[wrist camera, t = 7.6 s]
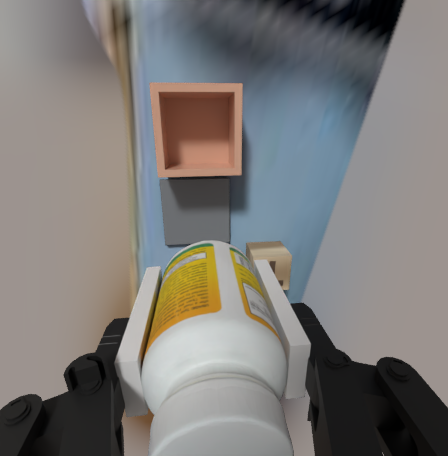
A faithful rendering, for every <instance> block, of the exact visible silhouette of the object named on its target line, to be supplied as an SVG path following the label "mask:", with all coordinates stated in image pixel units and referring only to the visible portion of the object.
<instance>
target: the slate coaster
mask: <svg viewBox="0 0 448 456" xmlns="http://www.w3.org/2000/svg"><path fill="white" fill-rule="evenodd" d="M160 190H161V201H162V212H163V223H164V234H165V245H177V244H194V243H197V242H201V241H209V240H214V241H221V242H230V235H229V178H199V179H161V180H160Z"/></svg>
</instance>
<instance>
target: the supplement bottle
mask: <svg viewBox="0 0 448 456" xmlns="http://www.w3.org/2000/svg"><path fill="white" fill-rule="evenodd" d="M287 377H288V365H287V359H286V355H285V351H284V348H283V346H282V343H281V340H280V337H279V334H278V332H277V329H276V327H275V324H274V321H273V319H272V316H271V313H270V311H269V308H268V306H267V303H266V301H265V298H264V295H263V293H262V290H261V287H260V284H259V282H258V279H257V277H256V274H255V271H254V269H253V267H252V265H251V263H250V261H249V259H248V258H247V257H246V255H245V254H244V253H243V252H242V251H240V250H239V249H238V248H236V247H234V246H233V245H230V244H228V243H225V242H221V241H214V240H209V241H201V242H197V243H194V244H191V245H189V246H187V247H185V248H183V249H182V250H180V251H179V252H178V253H177V254H175V255H174V257H173V258H172V259H171V260H170V262H169V263H168V265H167V267H166V269H165V272H164V275H163V279H162V283H161V288H160V292H159V296H158V301H157V305H156V310H155V314H154V319H153V323H152V328H151V332H150V336H149V340H148V344H147V348H146V352H145V356H144V361H143V366H142V374H141V384H142V391H143V395H144V398H145V401H146V403H147V405H148V407H149V409H150V410H151V412H152V413H153V414H154V415H155V416H154V418H153V421H152V424H151V430H150V443H149V451H148V456H294V451H293V446H292V442H291V438H290V435H289V431H288V428H287V424H286V421H285V415H284V411H283V408H282V406H281V403H280V402H279V401H280V399H281V397H282V396H283V393H284V391H285V387H286V383H287Z"/></svg>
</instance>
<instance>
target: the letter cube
mask: <svg viewBox="0 0 448 456" xmlns="http://www.w3.org/2000/svg"><path fill="white" fill-rule="evenodd" d="M246 257H247V258H248V259H249V261H250V263H251V265H252V267H253V269H254V260H264V259H267V261H268V263H269V265H270V267H271V269H272V271H273V273H274V274H275V276H276V278H277V280H278V282H279V284H280V286H281V288H282V290H289V281H290V271H291V260H292V255H291V254H290V253H289V252H288V250H287V249H286V248H285V247H284V245H283V244H282V243H281V242H280V241H276V242H250V243H246Z"/></svg>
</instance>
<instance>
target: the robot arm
mask: <svg viewBox="0 0 448 456" xmlns="http://www.w3.org/2000/svg"><path fill="white" fill-rule="evenodd" d="M254 271H255V274H256V277H257V279H258V282H259V284H260V287H261V290H262V293H263V295H264V298H265V301H266V303H267V306H268V308H269V311H270V313H271V316H272V319H273V321H274V324H275V327H276V329H277V332H278V334H279V337H280V340H281V343H282V346H283V348H284V351H285V355H286V359H287V365H288V377H287V383H286V387H285V391H284V395H285V398H286V399H293V398H302V397H305V389H307V391H308V394H309V396H310V404H309V411H308V421H311V426H312V434H313V443H314V451H315V456H383V454H384V456H448V408H447V407H446V405H445V404H444V403H443V402H442V401H441V399H440V398H439V397H438V396H437V395H436V394H435V392H434V391H433V390H432V389H431V388H430V387H429V385H428V384H427V383H426V382H425V381H424V380H423V378H422V377H421V376H420V375H419V374H418V373H417V371H416V370H415V369H413V368H412V367H411V366H410V365H409V364H407V363H405V362H404V361H402V360H399V359H396V358H393V357H384V358H381V359H380V360H379V361H378V362H377V365H376V366H373V365H368V364H363V363H358V362H354V361H352V360H351V359H350V357H349V356H348V355H346V354H345V353H344V352H342V351H340V350H338V349H336V348H335V346H334V345H333V343H332V341H331V340H330V338H329V337H328V335H327V333H326V332H325V330H324V329H323V327H322V325H320V322H319V321H318V319H317V318H316V316H315V314H314V313H313V311H312V309H311V308H309V307H308V306H307V305H305V304H304V303H294V304H290V303H289V301H288V299H287V297H286V295H285V294H284V292H283V290H282V288H281V286H280V284H279V282H278V280H277V278H276V276H275V274H274V273H273V271H272V269H271V267H270V265H269V263H268V261H267V259H264V260H254ZM161 283H162V274H161V266H160V267H147V269H146V272H145V275H144V278H143V281H142V284H141V287H140V289H139V292H138V295H137V298H136V301H135V304H134V307H133V310H132V313H131V316H130V318H119V319H114V320H113V321H112V322H111V323H110V324H109V325H108V326H107V327H106V330H105V332H104V334H103V338H102V339H101V341H100V343H99V345H98V348H97V350H96V352H95V353H89V354H85V355H83V356H81V357H79V358H77V359H76V360H74V361H73V362H72V363H71V364H70V365H69V366H68V367H67V368H66V370H65V372H64V378H65V381H66V384H67V387H68V390H69V391H68V392H65V393H64V394H61V395H58V396H56V397H53V398H50V399H48V400H45V401H42V399H41V397H39V396H38V395H36V394H28V395H25V396H21V397H18V398H16V399H15V400H13V401H11V402H9V403H8V404H7V405H6V406H4V407H3V408H2V409H1V410H0V456H124V439H123V426H122V422H121V420H122V416H123V412H124V408H125V412H126V416H127V417H132V416H141V415H147V413H148V405H147V403H146V401H145V398H144V395H143V391H142V384H141V374H142V366H143V361H144V356H145V352H146V348H147V344H148V340H149V336H150V332H151V328H152V323H153V319H154V314H155V310H156V305H157V301H158V296H159V292H160V288H161ZM382 452H383V454H382Z"/></svg>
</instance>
